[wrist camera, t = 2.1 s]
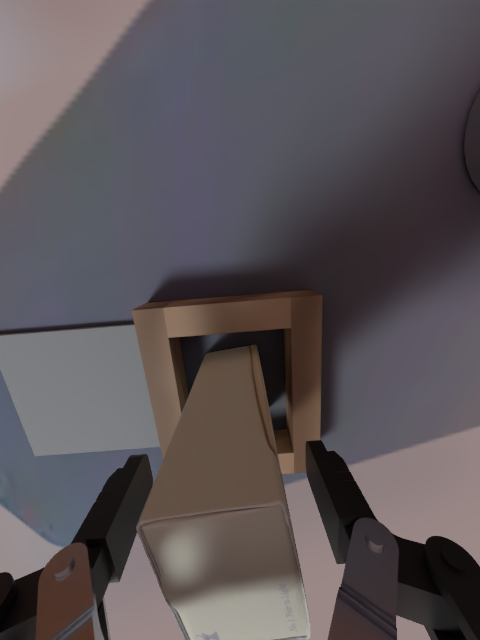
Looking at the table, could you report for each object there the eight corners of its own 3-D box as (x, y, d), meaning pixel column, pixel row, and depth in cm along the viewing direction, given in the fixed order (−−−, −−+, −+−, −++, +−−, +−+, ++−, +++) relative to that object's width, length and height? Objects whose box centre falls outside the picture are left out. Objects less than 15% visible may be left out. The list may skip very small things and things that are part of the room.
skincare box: (269, 408, 19) (319, 643, 8) (218, 418, 19) (188, 661, 8) (256, 340, 18) (293, 504, 6) (200, 351, 18) (128, 530, 6)
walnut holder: (310, 289, 17) (322, 295, 14) (309, 446, 20) (319, 471, 18) (146, 302, 17) (131, 310, 14) (176, 455, 20) (167, 482, 18)
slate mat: (137, 323, 17) (134, 324, 17) (162, 443, 20) (160, 446, 20) (-7, 335, 17) (-13, 336, 17) (38, 452, 20) (34, 456, 20)
